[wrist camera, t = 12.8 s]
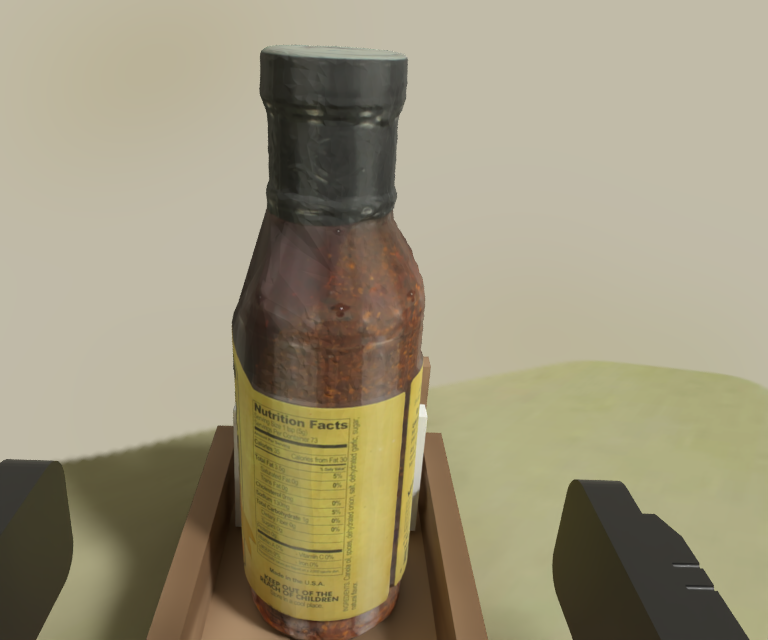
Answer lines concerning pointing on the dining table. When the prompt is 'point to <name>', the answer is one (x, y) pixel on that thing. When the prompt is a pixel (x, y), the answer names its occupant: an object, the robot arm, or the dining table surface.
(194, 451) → the dining table surface
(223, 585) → the wooden tray
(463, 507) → the dining table surface
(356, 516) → the sauce bottle
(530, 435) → the dining table surface
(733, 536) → the dining table surface
